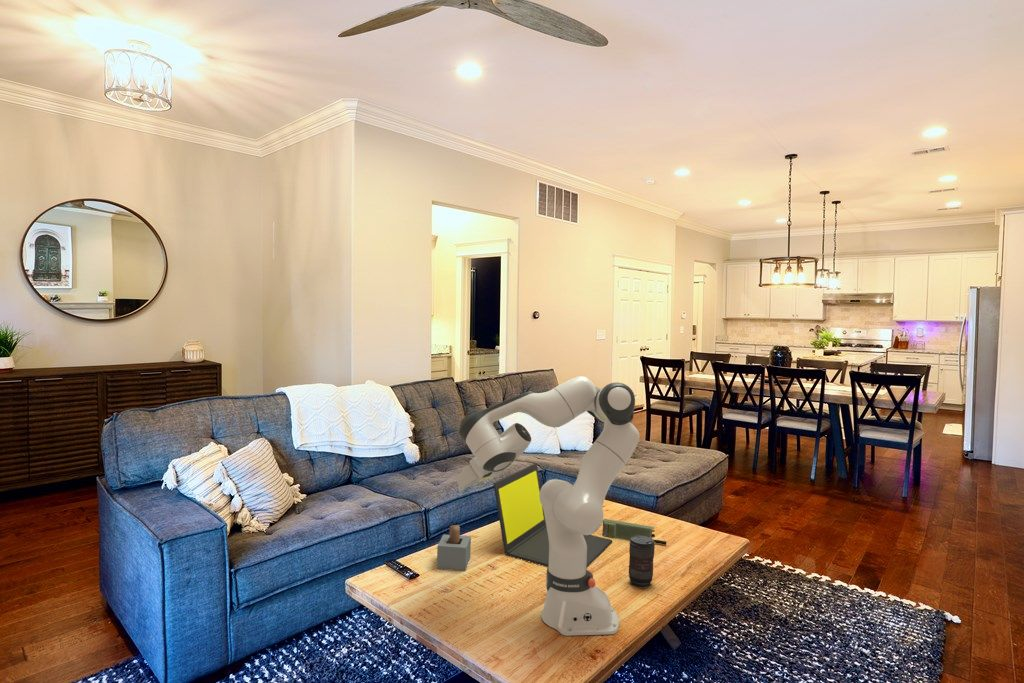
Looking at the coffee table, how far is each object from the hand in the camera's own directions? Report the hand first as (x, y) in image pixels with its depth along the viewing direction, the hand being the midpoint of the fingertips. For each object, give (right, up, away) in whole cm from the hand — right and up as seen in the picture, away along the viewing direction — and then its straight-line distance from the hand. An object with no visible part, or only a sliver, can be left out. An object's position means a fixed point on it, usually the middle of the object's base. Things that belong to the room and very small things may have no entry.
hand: (469, 485), depth 184 cm
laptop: (+30, -32, +31) cm, 54 cm away
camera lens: (+57, -34, +4) cm, 66 cm away
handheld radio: (+62, -32, +40) cm, 81 cm away
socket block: (-7, -31, +15) cm, 35 cm away
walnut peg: (-7, -28, +14) cm, 32 cm away
